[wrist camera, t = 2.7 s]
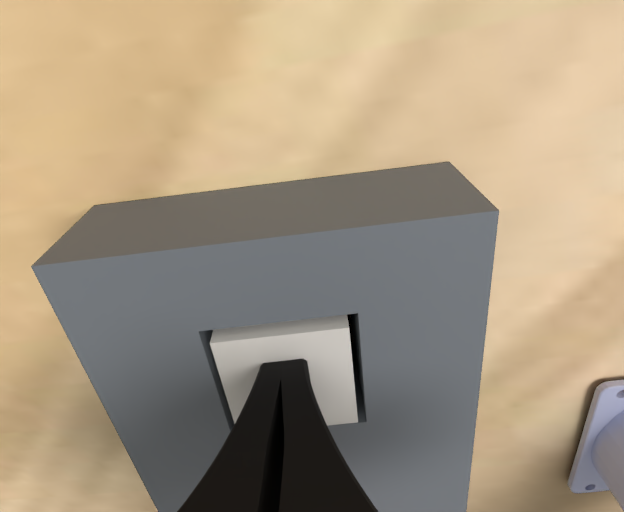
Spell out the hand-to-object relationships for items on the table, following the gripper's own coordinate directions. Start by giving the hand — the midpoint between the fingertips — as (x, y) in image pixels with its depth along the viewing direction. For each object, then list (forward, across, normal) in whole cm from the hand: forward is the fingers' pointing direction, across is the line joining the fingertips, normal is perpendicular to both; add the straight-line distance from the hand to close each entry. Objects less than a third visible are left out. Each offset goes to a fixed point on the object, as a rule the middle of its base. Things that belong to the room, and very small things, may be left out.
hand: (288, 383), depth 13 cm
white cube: (+4, 0, 0) cm, 4 cm away
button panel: (+4, 0, +11) cm, 12 cm away
